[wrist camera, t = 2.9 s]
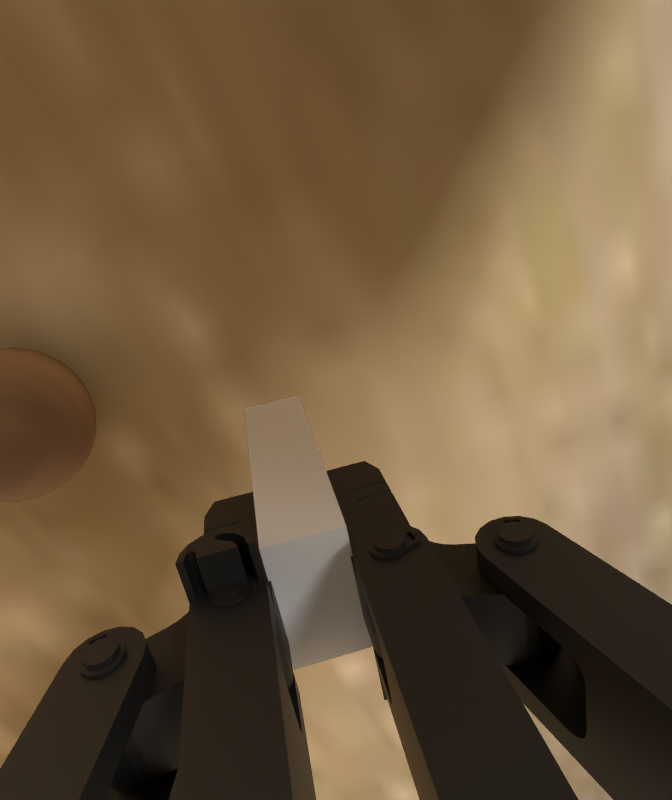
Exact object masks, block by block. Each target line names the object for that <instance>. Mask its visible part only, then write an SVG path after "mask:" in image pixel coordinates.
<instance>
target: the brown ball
mask: <svg viewBox="0 0 672 800" xmlns="http://www.w3.org/2000/svg"><path fill="white" fill-rule="evenodd" d="M95 434H96V413H95V408H94V404H93V401H92V399H91V397H90V394H89V392H88V390H87V388H86V387H85V385H84V384H83V382H82V381H81V380H80V379H79V377H78V376H77V375H76V374H75V373H74V372H73V371H72V370H71V369H69V368H68V367H67V366H65V365H64V364H63V363H61V362H59V361H58V360H56V359H54V358H52V357H50V356H47V355H45V354H42V353H39V352H36V351H31V350H26V349H17V348H1V349H0V502H16V501H23V500H28V499H33V498H36V497H39V496H42V495H44V494H46V493H49V492H51V491H53V490H55V489H56V488H58V487H60V486H61V485H63V484H64V483H65V482H66V481H68V480H69V479H70V478H71V477H72V476H73V475H74V474H75V473H76V472H77V471H78V470H79V469H80V468H81V466H82V465H83V463H84V462H85V460H86V459H87V457H88V455H89V453H90V451H91V448H92V445H93V442H94V439H95Z"/></svg>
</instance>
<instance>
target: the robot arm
mask: <svg viewBox="0 0 672 800" xmlns="http://www.w3.org/2000/svg"><path fill="white" fill-rule="evenodd" d="M244 409H245V419H246V428H247V438H248V447H249V457H250V467H251V476H252V486H253V492H251V493H247V494H243V495H239V496H235V497H231V498H228V499H224V500H220V501H216V502H214V503H213V505H212V506H211V508H210V509H209V511H208V512H207V514H206V515H205V520H204V535H203V536H201V537H199V538H198V539H196V540H195V541H193V542H191V543H190V544H188V545H187V547H186V548H185V549H184V550H183V551H182V552H181V553H180V554H179V556H178V559H177V561H176V567H177V570H178V572H179V575H180V578H181V581H182V584H183V586H184V589H185V592H186V595H187V597H188V600H189V603H190V606H189V612H188V613H187V614H186V615H185V616H183V617H182V618H181V619H180V620H179V621H177V622H176V623H174V624H172V625H171V626H169V627H168V628H166V629H164V630H162V631H160V632H158V633H156V634H154V635H152V636H151V637H149V638H147V639H145V637H144V635H143V632H141V631H139V630H137V629H136V628H134V627H116V628H113V629H109V630H105V631H103V632H101V633H99V634H97V635H95V636H93V637H91V638H89V639H87V640H86V641H85V642H83V643H82V644H81V645H80V646H78V647H77V648H76V649H75V650H74V651H73V652H72V653H71V654H70V656H69V657H68V658H67V659H66V661H65V662H64V663H63V665H62V666H61V668H60V670H59V671H58V673H57V675H56V676H55V678H54V680H53V681H52V683H51V685H50V686H49V688H48V690H47V691H46V693H45V695H44V697H43V698H42V700H41V702H40V703H39V705H38V707H37V708H36V710H35V712H34V713H33V715H32V717H31V718H30V720H29V722H28V723H27V725H26V727H25V728H24V730H23V732H22V733H21V735H20V737H19V738H18V740H17V742H16V743H15V745H14V747H13V748H12V750H11V752H10V753H9V755H8V757H7V758H6V760H5V762H4V764H3V765H2V767H1V769H0V800H316V796H315V790H314V783H313V777H312V771H311V764H310V758H309V751H308V745H307V739H306V732H305V726H304V720H303V713H302V707H301V701H300V694H299V690H298V687H297V684H296V680H295V677H294V673H293V668H294V669H298V668H301V667H304V666H308V665H311V664H315V663H318V662H321V661H325V660H328V659H331V658H335V657H338V656H342V655H345V654H348V653H352V652H355V651H358V650H362V649H365V648H369V647H372V645H373V649H374V653H375V658H376V663H377V667H378V672H379V677H380V681H381V686H382V690H383V695H384V700H387V699H388V702H389V705H390V709H391V712H392V715H393V718H394V721H395V724H396V727H397V730H398V734H399V737H400V740H401V743H402V746H403V749H404V752H405V755H406V759H407V762H408V765H409V768H410V771H411V774H412V777H413V780H414V783H415V787H416V790H417V793H418V796H419V799H420V800H578V798H577V796H576V795H575V793H574V791H573V790H572V788H571V786H570V784H569V783H568V781H567V779H566V777H565V776H564V774H563V772H562V771H561V769H560V767H559V765H558V764H557V762H556V760H555V758H554V757H553V755H552V753H551V752H550V750H549V748H548V746H547V745H546V743H545V741H544V739H543V738H542V736H541V734H540V733H539V731H538V729H537V727H536V726H535V724H534V722H533V720H532V719H531V717H530V715H529V713H528V712H527V710H526V708H525V707H524V705H525V706H526V707H527V708H528V709H529V710H530V711H531V712H532V713H533V714H534V715H535V716H536V717H537V718H538V719H539V721H540V722H541V723H542V724H543V725H544V726H545V727H546V728H547V729H548V730H549V731H550V732H551V733H552V734H553V736H554V737H555V738H556V739H557V740H558V741H559V742H560V743H561V744H562V745H563V746H564V747H565V748H566V749H567V750H568V752H569V753H570V754H571V755H572V756H573V757H574V758H575V759H576V760H577V761H578V762H579V763H580V764H581V765H582V767H583V768H584V769H585V770H586V771H587V772H588V773H589V774H590V775H591V776H592V777H593V778H594V779H595V780H596V781H597V783H598V784H599V785H600V786H601V787H602V788H603V789H604V790H605V791H606V792H607V793H608V794H609V795H610V796H611V798H612V799H613V800H672V605H671V604H670V603H668V602H667V601H665V600H664V599H662V598H660V597H659V596H657V595H656V594H654V593H653V592H651V591H650V590H648V589H646V588H645V587H643V586H642V585H640V584H639V583H637V582H636V581H634V580H632V579H631V578H629V577H628V576H626V575H625V574H623V573H622V572H620V571H618V570H617V569H615V568H614V567H612V566H611V565H609V564H608V563H606V562H604V561H603V560H601V559H600V558H598V557H597V556H595V555H594V554H592V553H590V552H589V551H587V550H586V549H584V548H583V547H581V546H580V545H578V544H576V543H575V542H573V541H572V540H570V539H569V538H567V537H566V536H564V535H562V534H561V533H559V532H558V531H556V530H555V529H553V528H552V527H550V526H548V525H547V524H545V523H543V522H540V521H538V520H536V519H533V518H527V517H521V516H512V517H502V518H499V519H495V520H492V521H490V522H488V523H487V524H485V525H484V526H482V527H481V528H480V529H479V531H478V533H477V534H476V536H475V541H476V544H458V545H449V544H439V543H434V542H431V541H428V539H427V537H426V536H425V535H424V534H423V533H422V532H421V531H420V530H419V529H416V528H414V527H411V526H410V524H409V522H408V521H407V519H406V517H405V515H404V513H403V512H402V510H401V508H400V506H399V504H398V503H397V501H396V499H395V497H394V495H393V494H392V493H391V490H390V488H389V486H388V485H387V483H386V482H385V479H384V477H383V476H382V474H381V472H380V470H379V469H378V468H376V467H374V466H373V465H371V464H369V463H367V462H365V461H363V462H359V463H355V464H351V465H348V466H344V467H340V468H336V469H332V470H328V471H326V469H325V466H324V464H323V461H322V458H321V456H320V453H319V450H318V447H317V445H316V442H315V439H314V437H313V434H312V431H311V428H310V426H309V423H308V420H307V418H306V415H305V412H304V409H303V407H302V404H301V401H300V398H299V396H298V395H295V396H291V397H287V398H283V399H279V400H275V401H271V402H267V403H263V404H259V405H254V406H250V407H246V408H244ZM371 642H372V643H371ZM292 664H293V667H292ZM522 702H523V703H524V705H523V703H522Z"/></svg>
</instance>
